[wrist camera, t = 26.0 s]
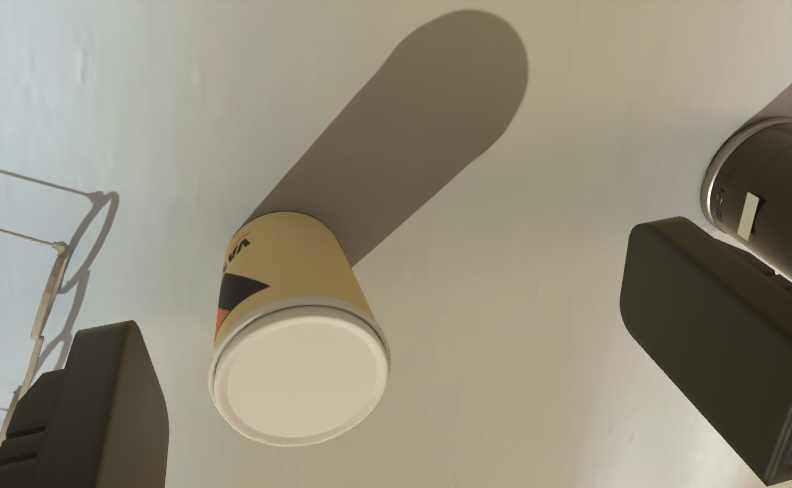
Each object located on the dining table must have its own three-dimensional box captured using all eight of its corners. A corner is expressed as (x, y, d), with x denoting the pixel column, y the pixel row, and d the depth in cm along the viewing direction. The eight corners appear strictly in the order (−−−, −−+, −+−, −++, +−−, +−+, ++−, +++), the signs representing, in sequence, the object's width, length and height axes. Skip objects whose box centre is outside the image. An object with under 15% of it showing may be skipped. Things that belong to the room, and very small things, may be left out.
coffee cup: (218, 190, 38) (218, 304, 28) (365, 206, 41) (413, 314, 31) (204, 315, 42) (200, 453, 32) (338, 321, 45) (373, 449, 35)
